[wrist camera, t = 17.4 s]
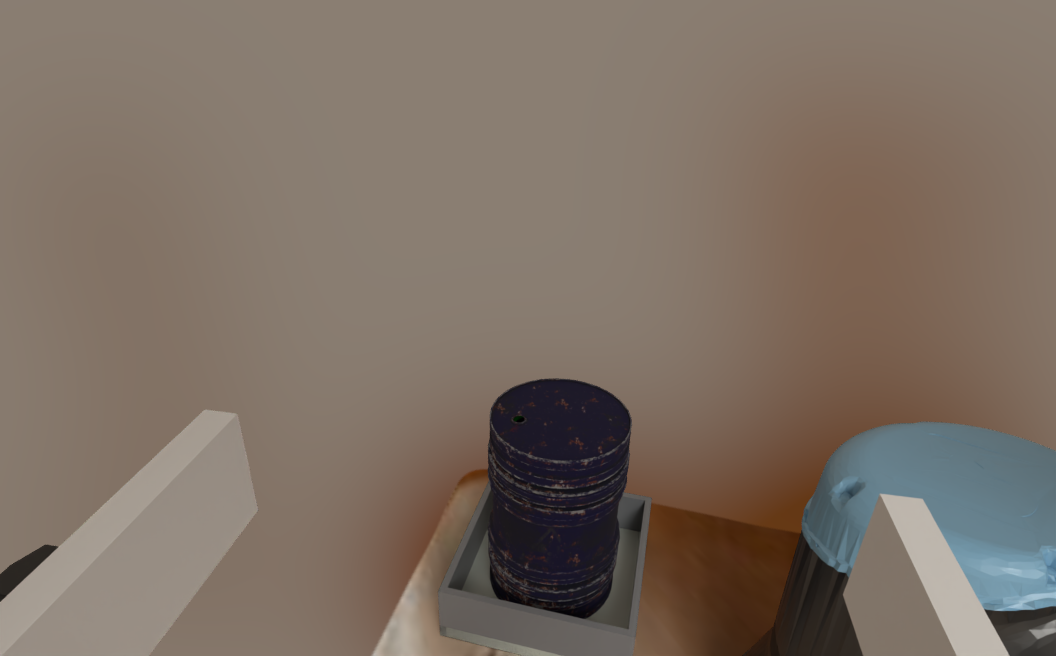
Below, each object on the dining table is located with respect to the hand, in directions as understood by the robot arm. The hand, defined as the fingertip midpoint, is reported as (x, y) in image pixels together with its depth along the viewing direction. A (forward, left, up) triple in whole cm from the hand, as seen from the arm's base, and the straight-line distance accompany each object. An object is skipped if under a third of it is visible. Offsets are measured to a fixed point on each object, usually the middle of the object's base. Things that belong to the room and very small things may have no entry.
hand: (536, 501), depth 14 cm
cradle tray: (+4, -26, -32) cm, 41 cm away
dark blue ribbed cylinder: (+4, -26, -31) cm, 41 cm away
